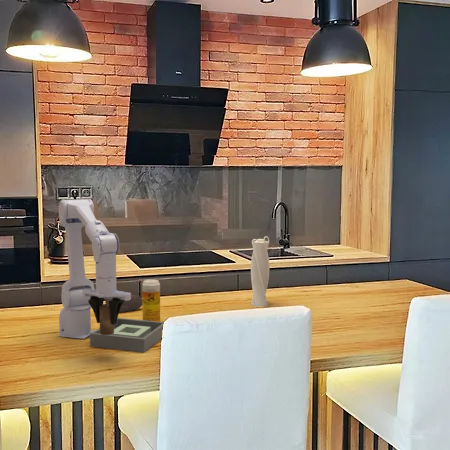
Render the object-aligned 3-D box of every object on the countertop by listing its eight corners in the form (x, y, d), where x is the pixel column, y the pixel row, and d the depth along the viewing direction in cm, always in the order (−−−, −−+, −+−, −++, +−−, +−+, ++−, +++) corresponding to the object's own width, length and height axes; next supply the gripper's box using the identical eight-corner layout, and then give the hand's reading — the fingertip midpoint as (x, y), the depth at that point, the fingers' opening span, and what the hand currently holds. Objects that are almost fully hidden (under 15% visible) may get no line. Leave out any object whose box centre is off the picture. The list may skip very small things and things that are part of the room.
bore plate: (108, 340, 171) (108, 333, 171) (122, 331, 181) (122, 324, 180) (137, 344, 168) (137, 336, 168) (151, 334, 178) (151, 326, 177)
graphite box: (90, 346, 168) (89, 333, 168) (117, 329, 186) (117, 317, 185) (144, 352, 163) (144, 339, 163) (167, 334, 181) (167, 322, 180)
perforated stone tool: (141, 307, 213) (141, 290, 212) (145, 311, 209) (145, 293, 208) (102, 312, 207) (102, 293, 206) (105, 315, 202) (105, 297, 202)
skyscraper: (272, 307, 216) (274, 236, 212) (255, 309, 213) (256, 237, 210) (263, 302, 223) (265, 233, 220) (247, 304, 220) (248, 234, 217)
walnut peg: (97, 334, 158) (96, 306, 157) (104, 330, 162) (103, 303, 161) (109, 335, 157) (109, 308, 156) (116, 331, 161) (116, 304, 160)
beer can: (143, 326, 189) (143, 283, 187) (141, 321, 195) (141, 279, 193) (161, 325, 191) (161, 282, 189) (158, 320, 197) (158, 278, 195)
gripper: (76, 277, 156) (77, 324, 157) (122, 281, 152) (123, 329, 153) (88, 272, 162) (89, 317, 164) (133, 276, 158) (134, 322, 160)
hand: (106, 322), depth 159 cm, fingers closed on walnut peg, 4 cm apart
